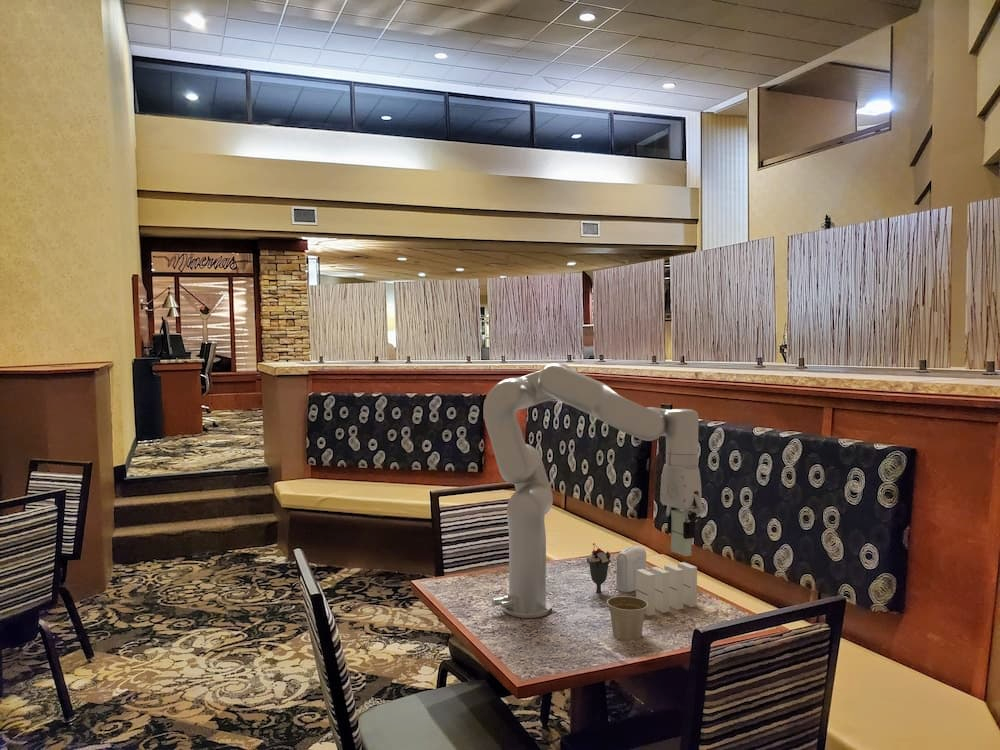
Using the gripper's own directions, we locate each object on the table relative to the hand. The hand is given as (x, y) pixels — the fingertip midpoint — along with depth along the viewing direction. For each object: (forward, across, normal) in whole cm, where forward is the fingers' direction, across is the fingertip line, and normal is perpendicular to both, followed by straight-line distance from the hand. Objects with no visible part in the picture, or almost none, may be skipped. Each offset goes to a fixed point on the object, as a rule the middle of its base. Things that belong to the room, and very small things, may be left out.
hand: (681, 534), depth 163 cm
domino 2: (+21, -9, +1) cm, 23 cm away
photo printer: (+23, -26, +5) cm, 35 cm away
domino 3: (+21, -9, +5) cm, 23 cm away
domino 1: (+21, -9, -4) cm, 23 cm away
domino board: (+22, -9, 0) cm, 24 cm away
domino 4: (+21, -9, +10) cm, 25 cm away
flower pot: (+23, +1, -16) cm, 28 cm away
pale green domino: (+5, 0, 0) cm, 5 cm away
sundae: (+23, -26, -6) cm, 35 cm away
